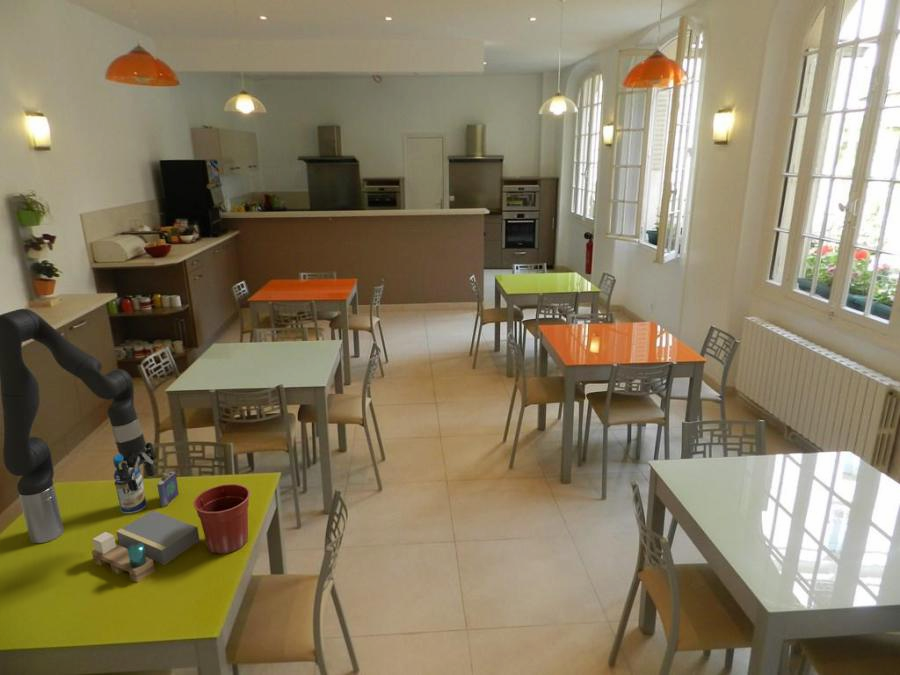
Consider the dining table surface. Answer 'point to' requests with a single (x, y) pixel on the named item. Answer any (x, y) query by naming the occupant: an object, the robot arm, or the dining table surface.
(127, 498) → the beverage bottle
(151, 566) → the pallet
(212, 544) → the flower pot
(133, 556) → the teal canister
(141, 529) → the dock
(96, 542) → the white cube
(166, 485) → the flask
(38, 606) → the dining table surface
